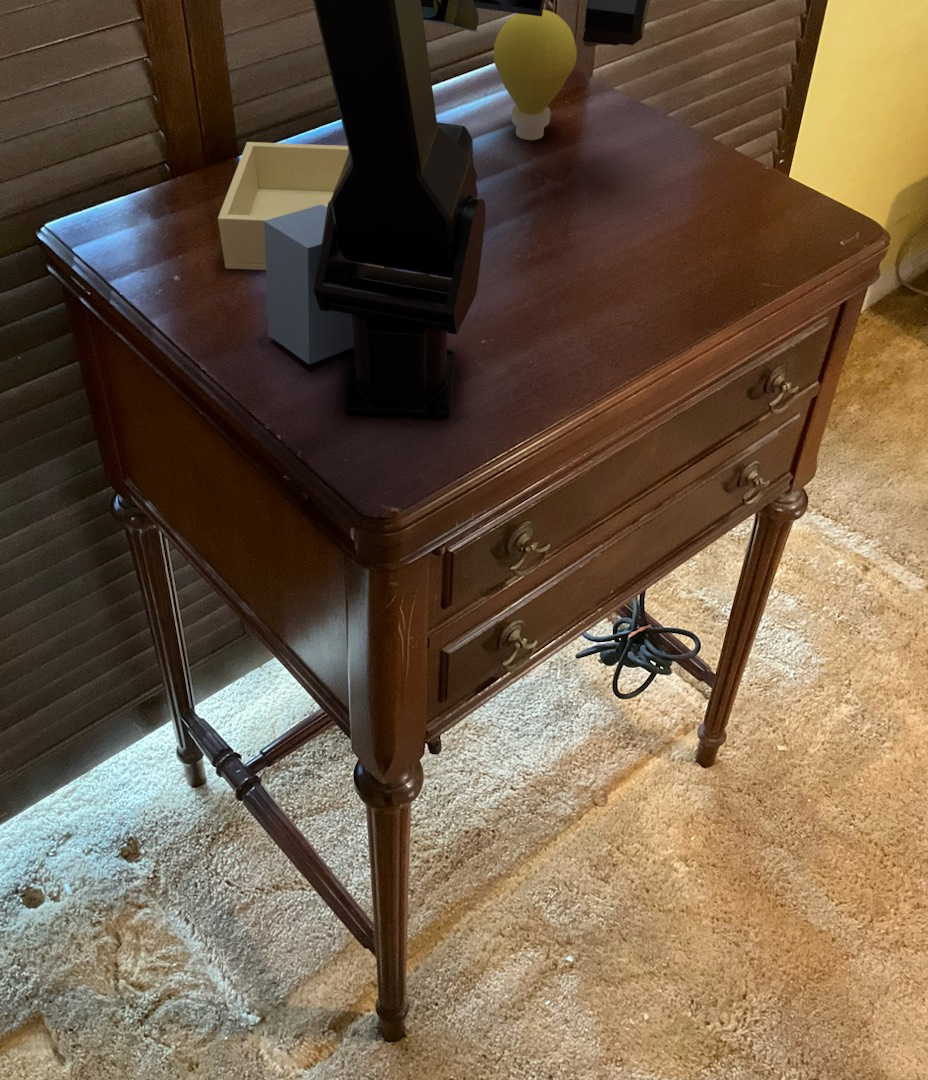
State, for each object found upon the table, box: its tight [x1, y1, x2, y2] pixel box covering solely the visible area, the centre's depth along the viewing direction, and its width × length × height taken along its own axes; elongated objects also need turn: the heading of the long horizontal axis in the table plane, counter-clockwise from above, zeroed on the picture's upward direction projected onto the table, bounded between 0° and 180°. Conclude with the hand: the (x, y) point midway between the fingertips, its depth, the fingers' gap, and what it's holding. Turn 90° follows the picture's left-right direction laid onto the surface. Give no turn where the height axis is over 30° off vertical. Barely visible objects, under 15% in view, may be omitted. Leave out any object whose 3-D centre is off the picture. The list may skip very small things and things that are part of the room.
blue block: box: [264, 205, 365, 365], centre depth 70 cm, size 4×4×8 cm
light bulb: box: [493, 8, 578, 141], centre depth 91 cm, size 7×7×10 cm
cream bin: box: [217, 141, 385, 271], centre depth 81 cm, size 11×11×4 cm
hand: (532, 32), depth 87 cm, fingers open, 9 cm apart
